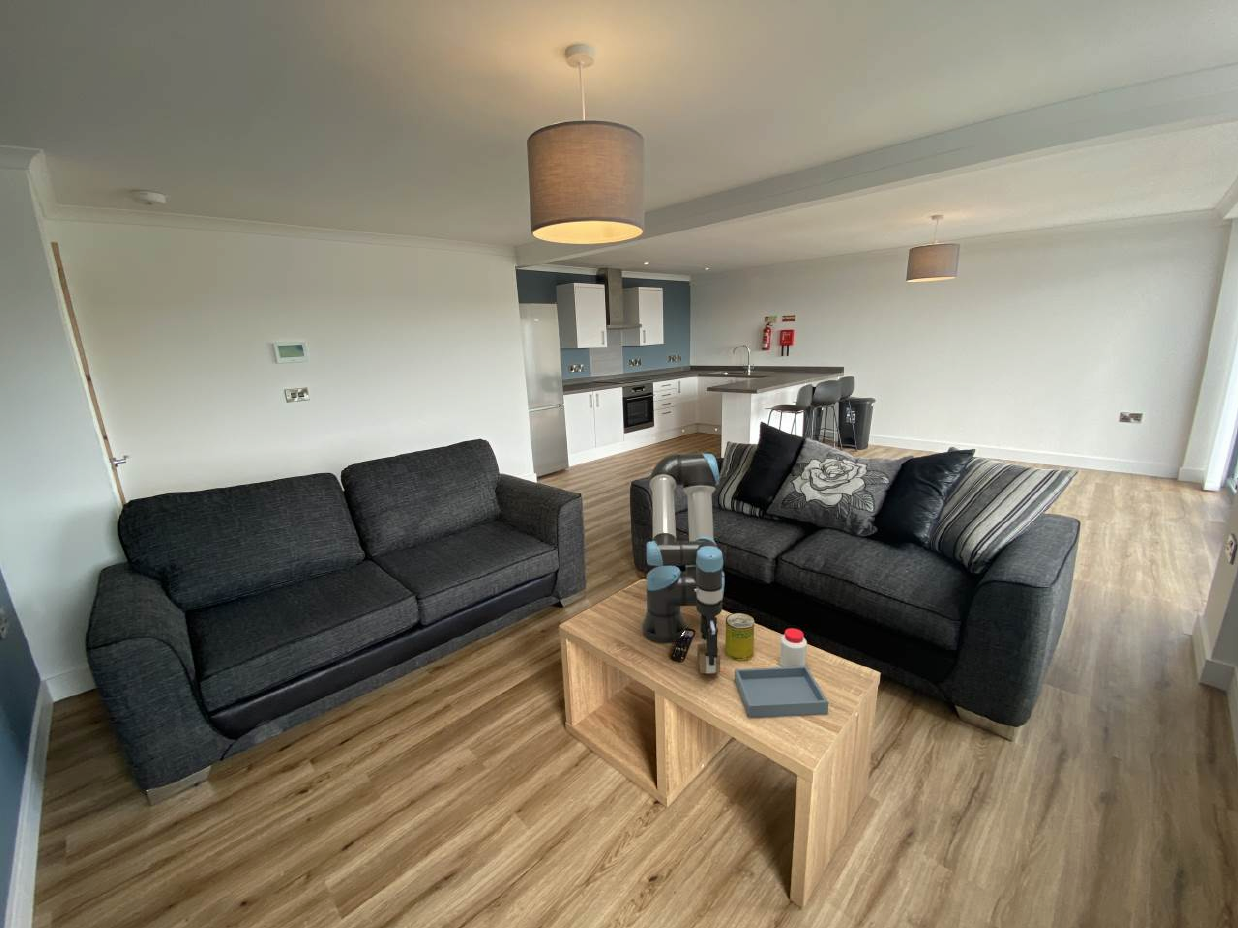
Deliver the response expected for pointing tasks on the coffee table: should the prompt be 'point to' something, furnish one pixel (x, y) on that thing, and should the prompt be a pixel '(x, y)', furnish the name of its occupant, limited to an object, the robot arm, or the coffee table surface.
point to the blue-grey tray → (780, 692)
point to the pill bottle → (793, 648)
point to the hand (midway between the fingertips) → (708, 664)
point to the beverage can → (739, 637)
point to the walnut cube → (702, 658)
